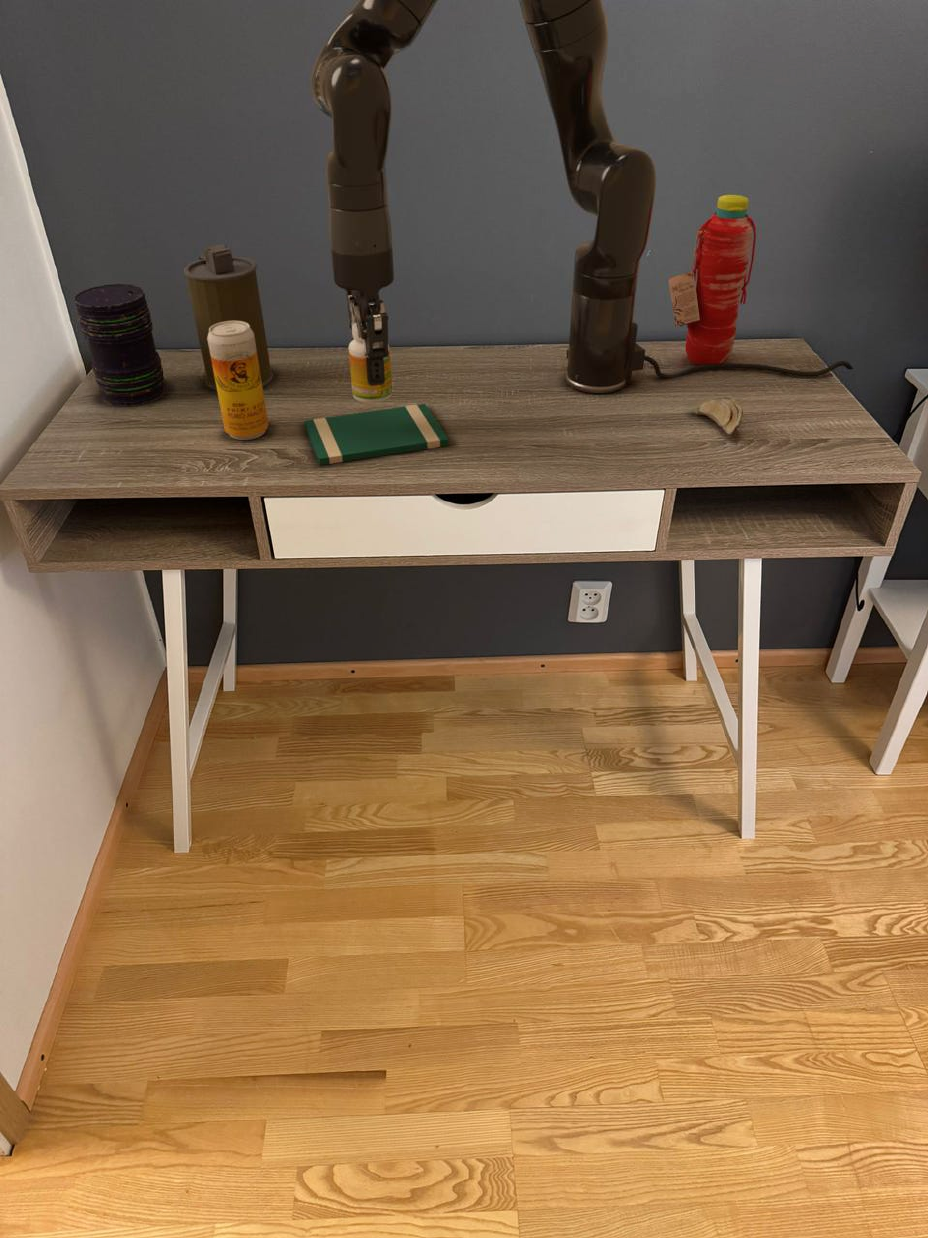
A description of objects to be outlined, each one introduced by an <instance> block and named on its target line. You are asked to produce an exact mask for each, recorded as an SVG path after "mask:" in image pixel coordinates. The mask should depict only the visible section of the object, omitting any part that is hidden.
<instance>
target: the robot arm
mask: <svg viewBox="0 0 928 1238" xmlns="http://www.w3.org/2000/svg"><path fill="white" fill-rule="evenodd" d="M438 1H439V0H358V1H357V2H356V3H355V5H354V6H353V8H352V9H351V10H349V12H348V13H347V15H346V16H345V17H344V18H343V19H342V21H341V22H340V23H339V25H338V26H337V28H335V30H334V31H333V32H332V34H331V35H330V37H329V38H328V40H327V41H325V43H324V44H323V45H324V46H323V47H322V49H321V50H320V52H319V54H318V56H317V57H316V60H315V62H314V65H313V68H312V71H311V76H310V91H311V97H312V98H313V101H314V103H315V105H316V106H317V108H318V109H319V110H320V111H321V112H322V113H323V115H326V116H327V117H328V118H330V119H332V129H333V133H332V134H333V135H332V137H333V139H332V141H333V142H332V143H333V144H332V145H333V150H331V151H330V152H329V153H328V154H327V156H326V161H325V177H326V187H327V196H328V197H327V198H328V199H327V200H328V233H329V243H330V252H331V264H332V275H333V282H334V283H335V286H337V287H338V288H340V289H343V290H345V294H346V302H347V310H348V319H349V328H350V330H351V332H352V325H353V324H354V323H356V324H357V331H358V337H359V339H360V340H362V341H363V345H364V351H365V352H364V355H365V357H366V369H367V381H368V383H369V385H371V386H374V385H382V384H384V382H385V374H384V359H383V357H388V354H389V351H388V344H389V315H388V314H387V312H386V309H385V308H386V307H385V302H384V299H380V294H379V293H380V290H381V289H382V290H383V288H386V287H389V286H390V285H391V284H392V283H393V282H394V280H395V272H394V256H393V235H392V222H391V215H390V210H389V201H388V200H389V199H388V186H387V185H388V183H387V181H388V180H387V170H386V159H387V154H388V149H389V148H388V147H389V143H390V142H389V140H390V131H391V124H392V123H391V121H392V107H393V106H392V94H391V93H392V92H391V88H390V83H389V79H388V76H387V74H386V72H385V68H386V67H387V66H388V64H389V62H390V61H391V60H392V58H394V56H395V55H397V54H399V53H402V52H404V51H406V50H408V49H409V48H410V47H411V46H412V45H413V43H414V42H415V40H417V38H418V36H419V34H420V32H421V31H422V29H423V27H424V25H425V23H426V22H427V20H428V18H429V16H430V15H431V13H432V11H433V9H434V8H435V6H436V4H437V2H438ZM518 2H519V5H520V10H521V13H522V18H523V20H524V21H523V22H524V24H525V25H524V26H525V28H526V31H527V35H528V37H529V41H530V44H531V48H532V51H533V53H534V56H535V59H536V62H537V64H538V67H539V70H540V74H541V78H542V82H543V85H544V89H545V93H546V95H547V99H548V102H549V106H550V109H551V111H552V115H553V119H554V122H555V127H556V130H557V135H558V141H559V147H560V151H561V156H562V161H563V167H564V171H565V177H566V181H567V185H568V189H569V193H570V195H571V197H572V199H573V201H574V203H575V204H576V205H577V206H578V207H579V208H580V209H582V210H583V211H584V212H587V213H588V214H591V215H594V216H596V217H597V218H596V225H595V231H594V237H593V240H587V241H585V242H582V243H580V244H579V245H578V246H577V247H576V250H575V253H574V265H573V278H572V279H573V280H572V296H571V310H570V323H569V324H570V325H569V337H568V349H566V359H567V365H566V372H565V383H566V384H567V385H568V386H570V388H572V389H575V390H577V391H579V392H584V393H588V394H609V393H614V392H618V391H620V390H622V389H624V388H625V387H627V386H631V385H632V380H633V372H636V371H643V370H644V364H645V362H648V364H651V365H652V367H653V368H654V372H655V375H656V376H657V377H658V378H660V379H662V380H670V379H675V378H679V377H683V376H687V375H689V374H692V373H695V372H698V371H702V370H711V369H712V370H713V369H744V370H745V369H746V370H758V371H768V372H773V373H778V374H784V375H789V376H795V377H806V378H808V377H809V378H813V377H820V376H824V375H826V374H828V373H831V372H832V371H835V370H836V369H837V368H839V367H845V369H847V370H853V369H854V367H853V365H852V364H851V363H850V362H848V361H846V360H839V361H837V362H835V363H833V364H831V365H829V366H828V367H826V368H823V369H820V370H816V371H815V370H814V371H807V370H806V371H804V370H803V371H802V370H794V369H788V368H784V367H778V366H775V365H774V366H773V365H766V364H757V363H743V362H742V363H736V362H725V363H717V364H703V365H698V366H697V365H694V366H692V367H689V368H687V369H685V370H683V371H680V372H678V373H675V374H665V373H664V372H663V373H662V371H661V368H660V365H659V363H658V361H656V359H654V358H652V357H650V356H648V355H646V349H644V348H643V347H642V346H640V345H639V344H638V343H637V335H638V327H639V326H638V324H637V322H636V321H634V313H635V305H636V295H637V286H638V278H639V268H640V261H641V259H642V257H643V254H644V252H645V250H646V248H647V245H648V240H649V235H650V229H651V222H652V217H653V211H654V204H655V197H656V190H657V172H656V166H655V163H654V161H653V159H652V157H651V156H650V154H649V153H647V152H646V151H645V150H643V149H640V148H637V147H634V146H633V147H632V146H630V145H626V144H622V143H619V142H617V141H616V140H615V138H614V136H613V133H612V131H611V128H610V126H609V125H610V124H609V122H608V118H607V114H606V110H605V107H604V102H603V101H604V100H603V94H602V86H603V79H604V78H603V77H604V72H605V67H606V61H607V54H608V48H609V47H608V45H609V29H608V28H609V27H608V21H607V16H606V11H605V8H604V3H603V0H518ZM363 330H367V333H365V332H364V331H363ZM376 342H378V344H379V348H373V344H374V343H376Z"/></svg>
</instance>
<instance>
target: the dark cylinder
mask: <svg viewBox="0 0 928 1238" xmlns="http://www.w3.org/2000/svg"><path fill="white" fill-rule="evenodd" d="M73 300H74V303H75V306H76V311H77V314H78V321H79V325H80V327H81V330H82V332H81V333H82V335H83V337H84V339H85V340H86V342H87V344H88V348H89V351H90V355H91V359H92V362H91V367H92V372H93V373H94V379H95V382H96V385H97V386H98V389H99V391H100V398H101V399H102V401H103V403H105V404H108V405H110V406H115V407H135V406H140V405H141V406H142V405H146V404H149V403H152V402H154V401H157V400H159V399H160V398H162V397H163V396H164V395H165V394H166V392H167V386H166V383H165V376H164V368H163V365H162V358H161V356H160V354H159V353H158V351H157V349H156V344H155V340H154V336H153V330H154V328H153V322H152V318H151V317H152V316H151V311H150V308H149V306H148V303H147V300H146V294H145V290H144V288H142V287H141V286H139V285H134V284H130V283H129V284H126V283H114V284H105V285H103V284H102V285H97V286H93V287H90V288H86V289H84V290H82V291H80V292H78V293H76V294H75V296H74V297H73Z"/></svg>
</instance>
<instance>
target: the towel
mask: <svg viewBox="0 0 928 1238" xmlns="http://www.w3.org/2000/svg"><path fill="white" fill-rule="evenodd" d="M303 423H304V425H303V426H304V428H305V431H306V433H307V437H308V439H309V441H310V444H311V446H312V448H313V451H314V454H315V456H316V459H317V461H318V465H319V466H324V465H331V464H339V463H344V462H350V461H351V462H352V461H356V460H363V459H369V458H376V457H382V456H389V455H394V454H395V455H396V454H402V453H409V452H415V451H422V450H429V449H436V448H440V447H448V446H449V445H450V439H449V437H448V435H447V434H446V433H445V431H444V430H443V428H442V426H441V425H440V423H439V422H438V420H437V419H436V417H435V416H434V415H433V413H432V412H431V410H430V408H429V407H428V405H427V403H418V404H411V405H410V404H409V405H404V406H398V407H391V408H385V409H377V410H371V411H370V410H369V411H362V412H356V413H349V414H342V415H334V416H328V417H320V418H313V419H306V420H303Z"/></svg>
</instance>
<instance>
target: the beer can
mask: <svg viewBox="0 0 928 1238" xmlns="http://www.w3.org/2000/svg"><path fill="white" fill-rule="evenodd" d="M207 340H208V345H209V350H210V356H211V361H212V366H213V371H214V376H215V382H216V387H217V391H216V392H217V397H218V402H219V408H220V413H221V418H222V424H223V428H224V431H225V433H227V435H229V437H231V438H232V439H233V440H234V439H235V440H237V441H239V440H240V441H249V440H255V439H257V438H261V436H263V435H264V434H265V433H266V430H267V429H268V427H269V420H268V414H267V408H266V402H265V401H266V400H265V395H264V394H265V393H264V389H263V388H264V387H262V381H261V375H260V369H259V362H258V356H257V350H256V343H255V337H254V333H253V331H252V330H251V328H250V325H249V324H248V323H246V322H243V321H224V322H219V323H216V324H214V325H212V326H211V327H210V328H209V333H208V337H207Z"/></svg>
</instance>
